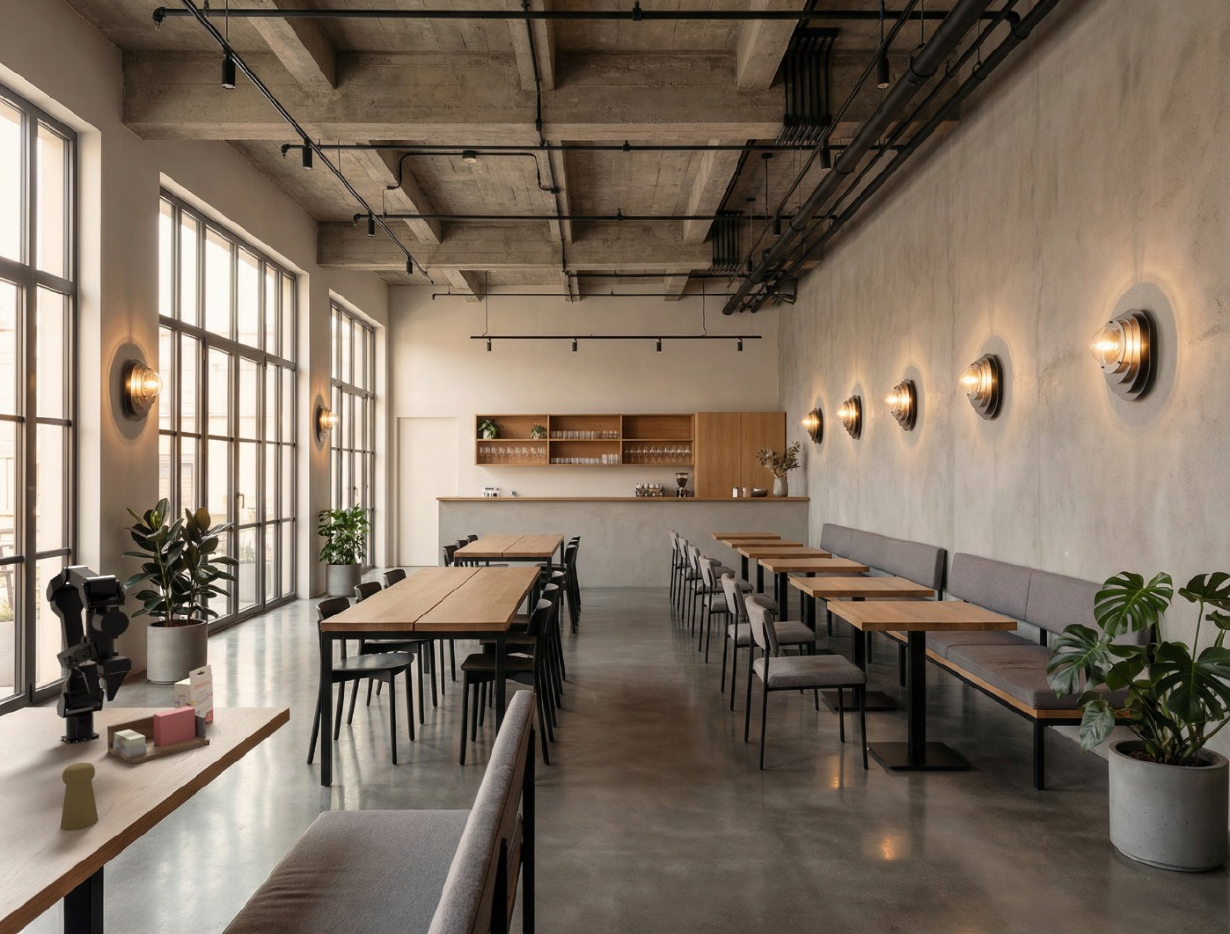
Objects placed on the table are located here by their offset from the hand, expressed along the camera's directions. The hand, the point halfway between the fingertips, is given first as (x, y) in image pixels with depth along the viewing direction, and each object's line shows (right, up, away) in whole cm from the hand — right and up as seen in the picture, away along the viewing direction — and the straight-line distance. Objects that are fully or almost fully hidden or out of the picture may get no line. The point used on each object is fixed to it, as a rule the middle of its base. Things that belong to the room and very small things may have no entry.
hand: (101, 697), depth 198 cm
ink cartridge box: (+11, -13, +21) cm, 27 cm away
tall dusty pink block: (+14, -12, +6) cm, 19 cm away
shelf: (+11, -13, +4) cm, 18 cm away
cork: (+19, -13, -39) cm, 45 cm away
